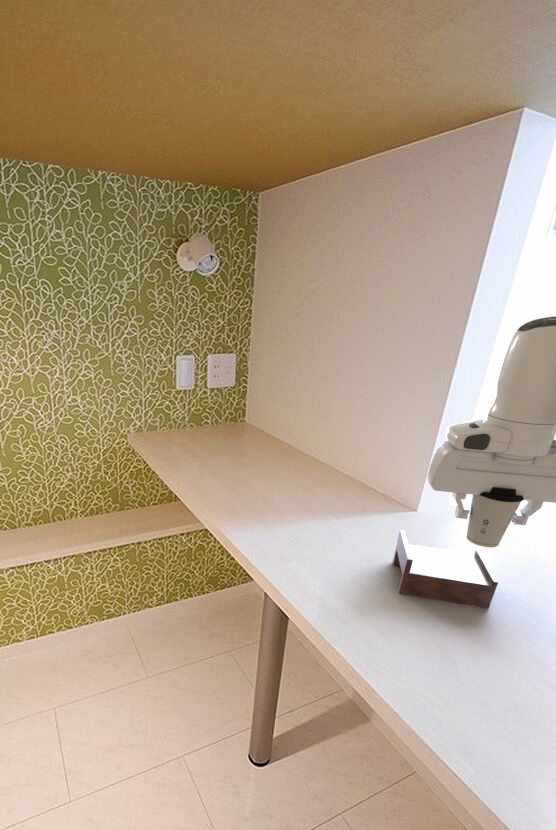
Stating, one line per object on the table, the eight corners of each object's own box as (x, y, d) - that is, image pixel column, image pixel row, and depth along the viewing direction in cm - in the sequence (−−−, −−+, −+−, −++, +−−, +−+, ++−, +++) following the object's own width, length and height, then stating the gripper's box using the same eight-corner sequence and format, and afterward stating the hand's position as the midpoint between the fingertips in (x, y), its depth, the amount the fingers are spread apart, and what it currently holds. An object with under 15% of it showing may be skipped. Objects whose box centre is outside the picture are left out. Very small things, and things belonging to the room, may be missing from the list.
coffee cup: (517, 546, 69) (538, 489, 65) (485, 554, 67) (505, 495, 63) (479, 527, 75) (496, 473, 71) (448, 534, 73) (464, 478, 69)
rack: (472, 574, 93) (483, 541, 89) (488, 608, 82) (501, 573, 79) (392, 561, 96) (400, 530, 93) (398, 593, 86) (407, 559, 83)
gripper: (587, 436, 64) (554, 519, 70) (436, 425, 69) (417, 504, 75) (611, 449, 58) (572, 538, 64) (445, 436, 63) (424, 520, 69)
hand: (488, 520), depth 70 cm, fingers closed on coffee cup, 7 cm apart
